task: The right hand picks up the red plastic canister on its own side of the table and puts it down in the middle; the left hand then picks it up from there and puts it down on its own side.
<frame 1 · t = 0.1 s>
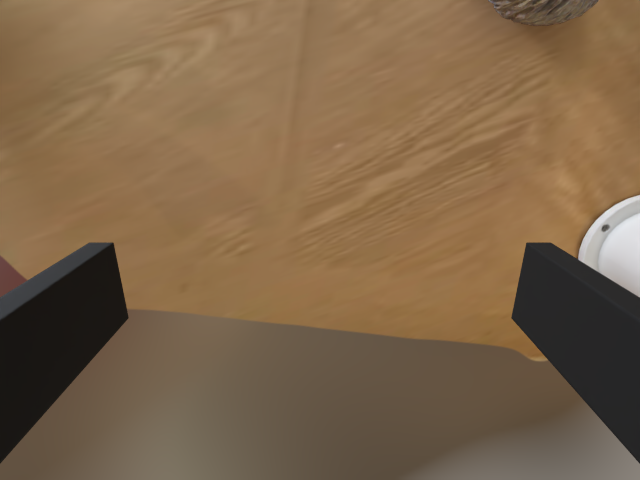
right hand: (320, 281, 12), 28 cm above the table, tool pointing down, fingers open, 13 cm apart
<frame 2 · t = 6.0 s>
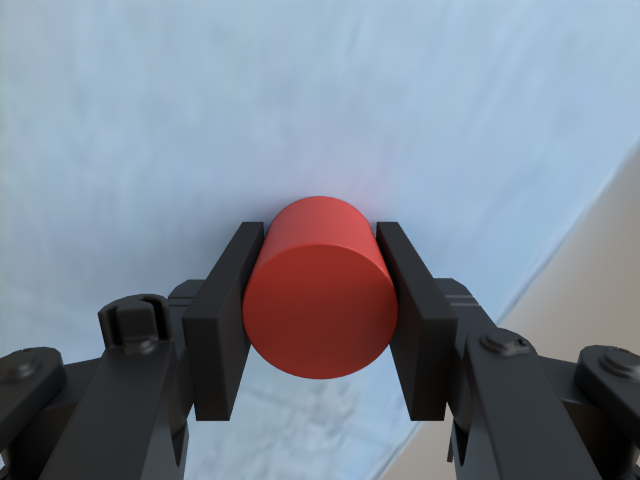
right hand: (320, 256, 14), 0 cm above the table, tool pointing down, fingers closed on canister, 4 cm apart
canister: (320, 249, 14), on the table, touching right hand
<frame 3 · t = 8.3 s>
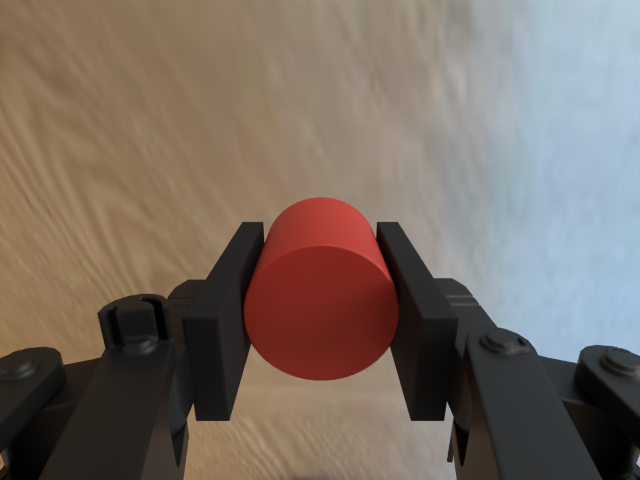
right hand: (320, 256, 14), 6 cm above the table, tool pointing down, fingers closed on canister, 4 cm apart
canister: (321, 250, 14), point 5 cm above the table, touching right hand
when the right hand's fingers open (1 cm above the table, at t = 10.4 s): canister stays where it is, on the table.
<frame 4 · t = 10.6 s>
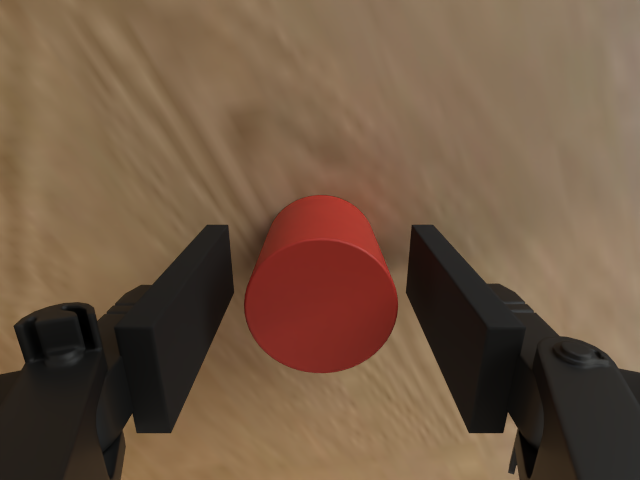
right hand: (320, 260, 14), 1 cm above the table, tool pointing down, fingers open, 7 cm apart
canister: (320, 247, 15), on the table
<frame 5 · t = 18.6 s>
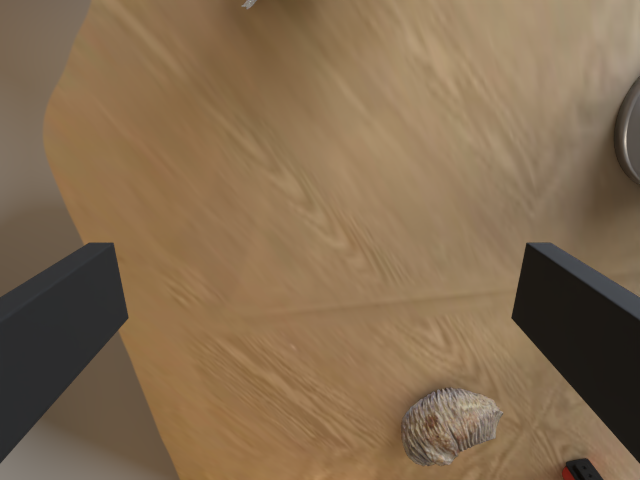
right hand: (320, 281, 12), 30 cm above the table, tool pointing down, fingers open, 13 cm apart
seashell: (444, 410, 53), on the table
canister: (576, 471, 57), on the table, touching left hand
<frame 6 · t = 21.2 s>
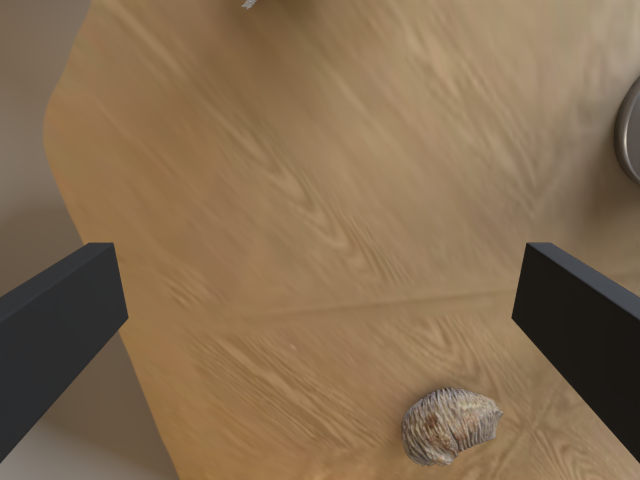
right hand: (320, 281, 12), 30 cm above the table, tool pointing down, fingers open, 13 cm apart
seashell: (444, 410, 53), on the table
when the left hand's fingers open (1 cm above the table, at t = 23.9 s): canister stays where it is, on the table.
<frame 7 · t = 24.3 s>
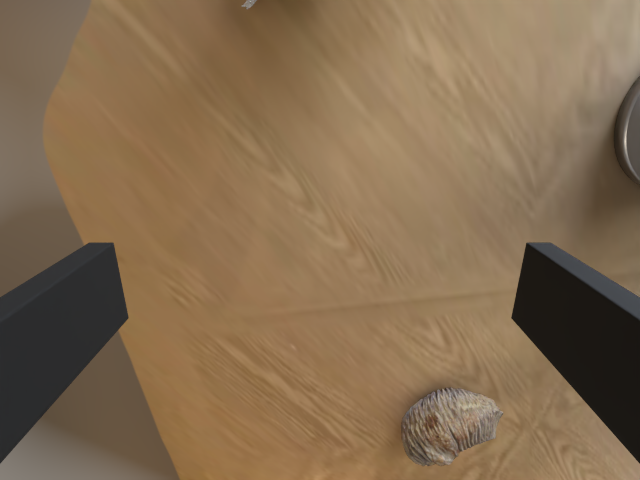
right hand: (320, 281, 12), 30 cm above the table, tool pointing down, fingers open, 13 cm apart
seashell: (444, 410, 53), on the table
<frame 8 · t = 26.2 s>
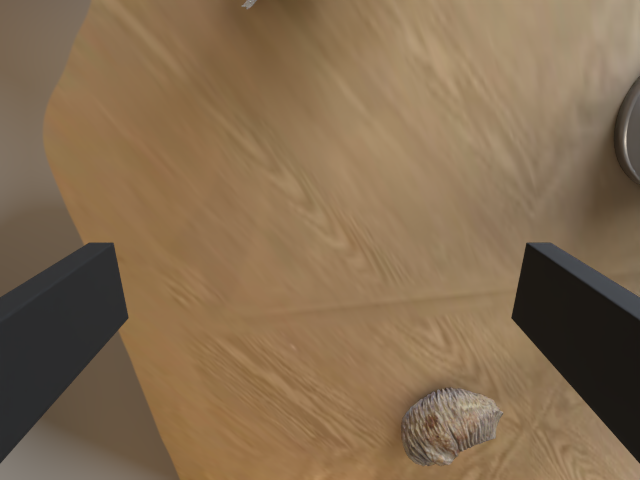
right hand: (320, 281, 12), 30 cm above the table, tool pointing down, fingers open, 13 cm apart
seashell: (444, 410, 53), on the table
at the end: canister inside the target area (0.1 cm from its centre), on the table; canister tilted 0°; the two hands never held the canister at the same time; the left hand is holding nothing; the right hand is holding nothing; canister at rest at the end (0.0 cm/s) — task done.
